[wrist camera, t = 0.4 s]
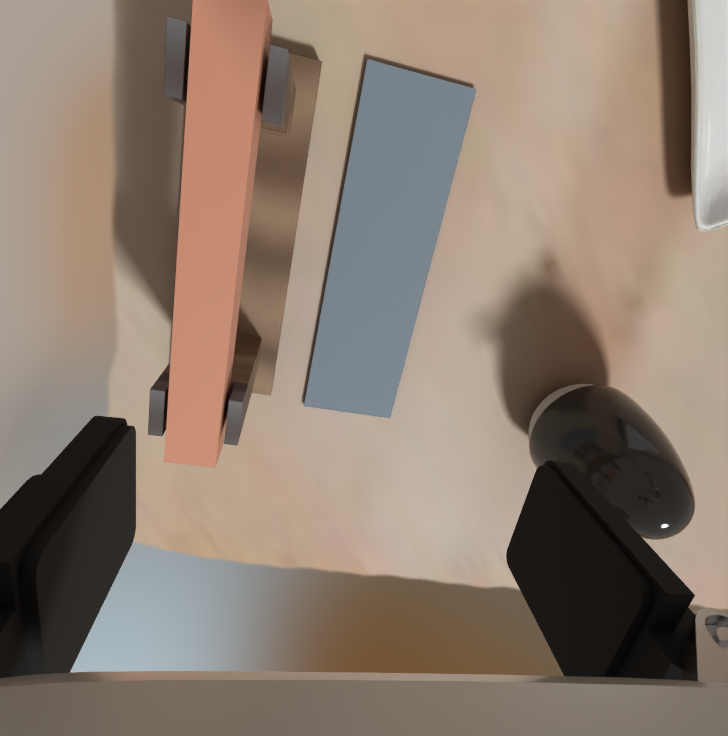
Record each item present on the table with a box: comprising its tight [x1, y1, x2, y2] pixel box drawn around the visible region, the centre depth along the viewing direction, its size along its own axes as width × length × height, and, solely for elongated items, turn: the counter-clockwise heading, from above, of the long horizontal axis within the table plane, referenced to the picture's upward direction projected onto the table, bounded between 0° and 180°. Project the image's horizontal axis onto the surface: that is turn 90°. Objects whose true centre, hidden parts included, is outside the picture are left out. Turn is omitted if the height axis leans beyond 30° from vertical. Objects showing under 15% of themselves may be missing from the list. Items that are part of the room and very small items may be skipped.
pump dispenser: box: [528, 384, 695, 540], centre depth 38 cm, size 10×10×15 cm
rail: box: [164, 0, 273, 467], centre depth 25 cm, size 24×3×3 cm, turn 168°
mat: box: [304, 59, 476, 418], centre depth 37 cm, size 27×8×1 cm, turn 168°
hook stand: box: [148, 16, 322, 445], centre depth 30 cm, size 25×8×13 cm, turn 168°
